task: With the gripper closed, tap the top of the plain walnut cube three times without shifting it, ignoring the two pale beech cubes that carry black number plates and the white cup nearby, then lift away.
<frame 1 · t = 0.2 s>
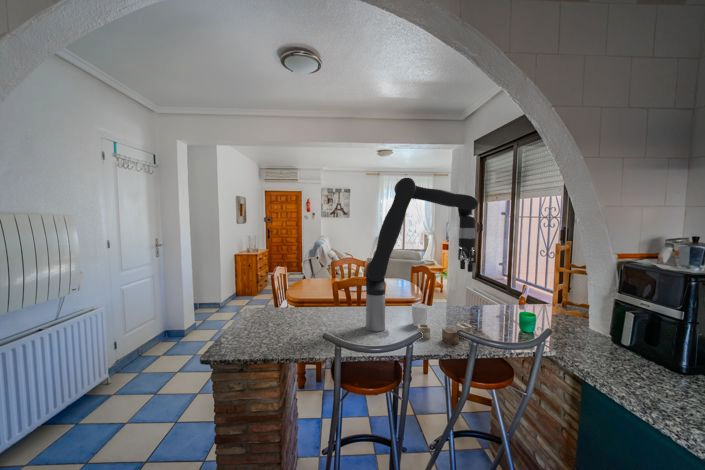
hand: (466, 270, 136), 29 cm above the counter, fingers open, 8 cm apart
beech cube left: (423, 336, 127), on the counter
walnut cube: (450, 341, 121), on the counter
beech cube right: (464, 335, 128), on the counter
white cup: (419, 325, 142), on the counter
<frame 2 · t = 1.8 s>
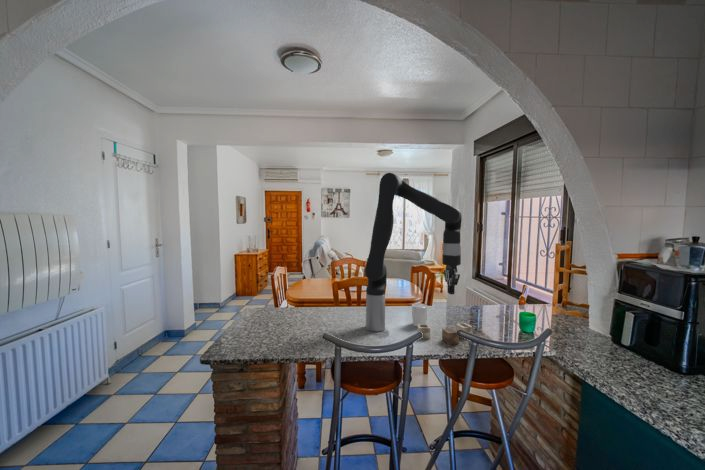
hand: (450, 293, 120), 21 cm above the counter, fingers closed
nothing on the counter moved.
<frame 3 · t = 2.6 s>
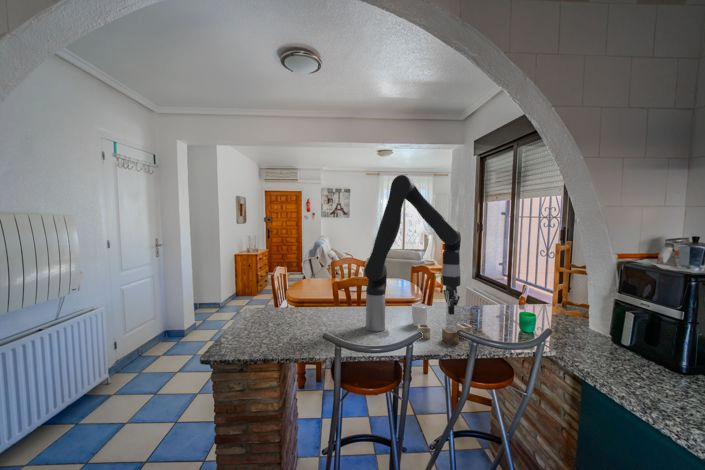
hand: (451, 314, 120), 12 cm above the counter, fingers closed
nothing on the counter moved.
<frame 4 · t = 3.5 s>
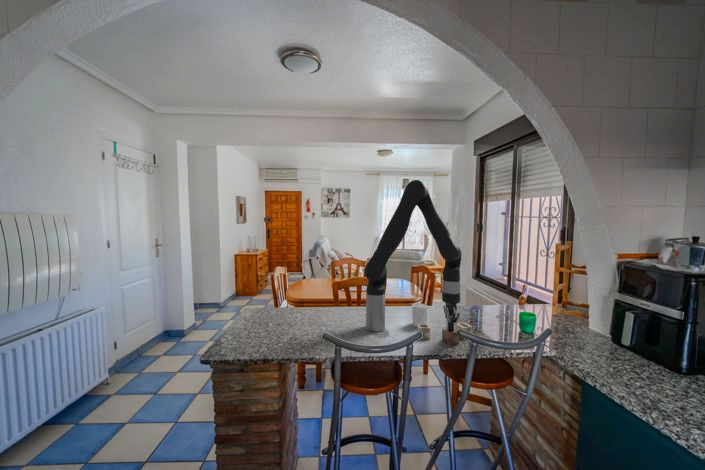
hand: (450, 330, 121), 5 cm above the counter, fingers closed
walnut cube: (450, 341, 121), on the counter, touching gripper
everything else where it was.
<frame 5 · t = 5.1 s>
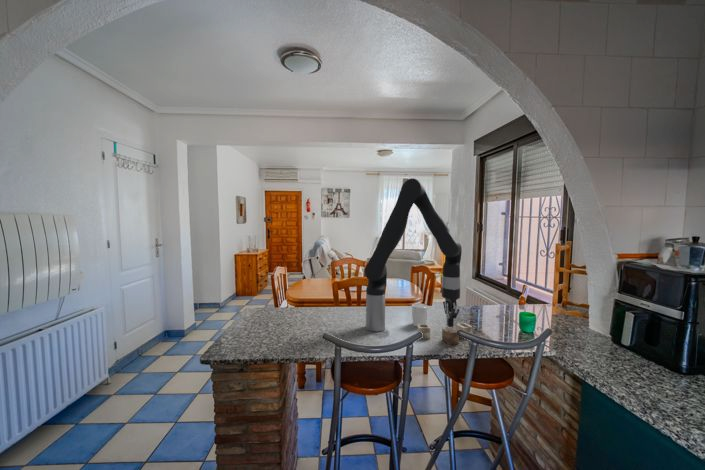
hand: (450, 326, 121), 7 cm above the counter, fingers closed
walnut cube: (450, 341, 121), on the counter
everything else where it was.
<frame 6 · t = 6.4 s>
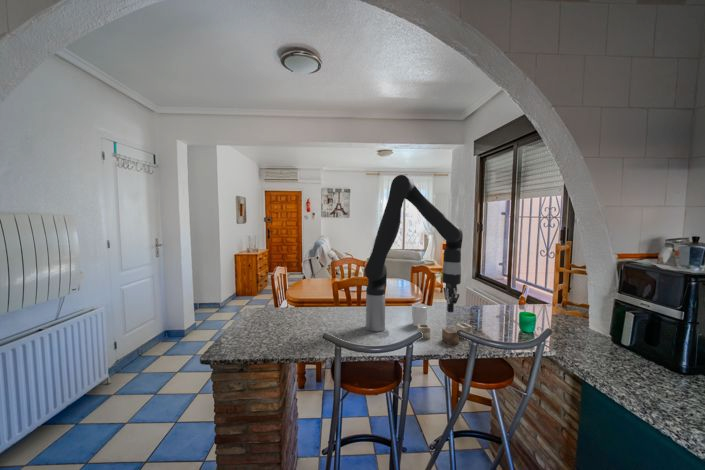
hand: (450, 311, 120), 13 cm above the counter, fingers closed
nothing on the counter moved.
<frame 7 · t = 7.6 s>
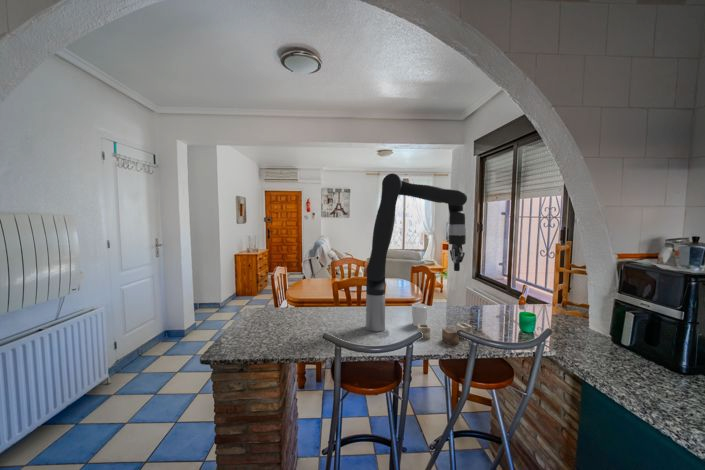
hand: (456, 270, 131), 29 cm above the counter, fingers closed
nothing on the counter moved.
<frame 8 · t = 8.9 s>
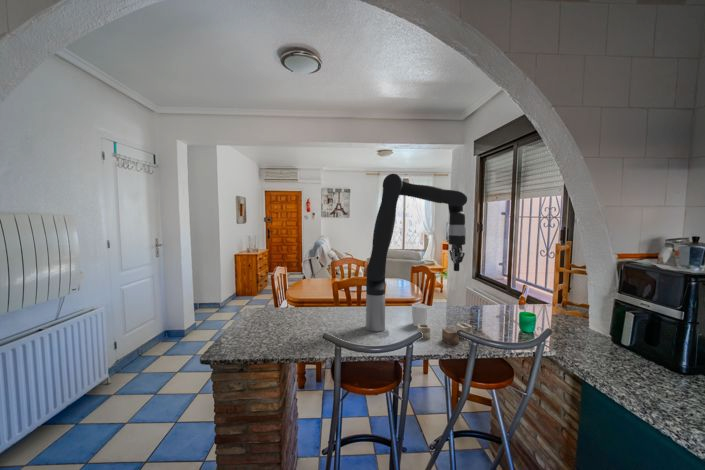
hand: (456, 270, 132), 29 cm above the counter, fingers closed
nothing on the counter moved.
at the end: walnut cube moved 0.1 cm from its start; walnut cube tilted 0°; beech cube left moved 0.1 cm from its start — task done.
